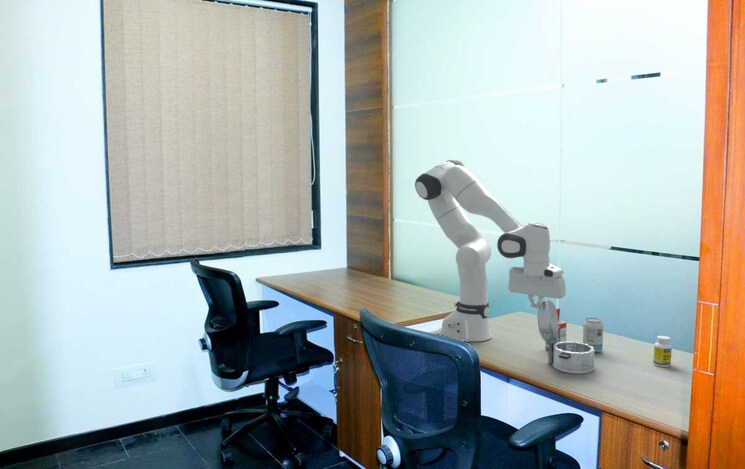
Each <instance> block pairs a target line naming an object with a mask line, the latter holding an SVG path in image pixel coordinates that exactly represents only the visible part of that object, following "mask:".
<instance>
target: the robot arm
mask: <svg viewBox="0 0 745 469" xmlns="http://www.w3.org/2000/svg"><path fill="white" fill-rule="evenodd" d="M414 188H415V191H416V193H417V195H418V196H419V198H421V199H423V200H424V201H427V203H428V206H429V209H430V212H431V213H432V215H433V217H434V218H435V220H436V221H437V223H438V225H439V226H440V229H441V230H442V231H443V233H444V235H445V236H446V238H447V239H448V240H449V241H451V242H452V244H454V245H455V246H456V248H457V249H458V250H457V252H456V254H455V262H456V265H457V272H458V277H459V278H458V279H459V301H457V302H456V303H454V304H453V307H454V308H455V307H456V308H455V310H453V311H452V312H451V313H449V314H448V315H447V316H445V317H444V318H443V320H442V325H441V328H438V329H437V330H436V335H437V334H439V335H438V336H440V335H443V336H442V337H444V336H447V337H451V338H455V339H459V340H462V341H465V342H464V343H466V342H483V341H484V342H485V341H487V340H488V341H489V340H490V339H492V333H491V329H490V322H489V316H490V315H489V313H490V303H489V299H488V298H489V282H488V278H487V271H486V270H487V269H486V265H487V264H486V263H488V262H489V260H490V259H491V256H492V247H491V245H490V244H489V243H488V242H487V240H485V238H484V237H483V235H482V234H481V233H480V231H478V229H477V228H476V227H475V226H474V225H473V224H472V223H471V221H470V220H469V217H468V216H467V215H466V212H467V213H469V214H472V215H476V216H482V217H483V218H484V217H485V218H487V219H489V220H491V221H492V222H493V223H495V225H496V226H497V227H498V228H499V229H500V230H501V231H502V232H503V234H501V235H500V236H499V238H498V239H497V244H496V246H497V250H498V252H499V254H500V255H501V256H502V257H503V258H506V259H516V258H522V259H523V267H521V266H512V267H511V268H510V269H509V272H508V274H509V275H508V276H509V279H508V287H507V288H508V291H509V292H510V293H516V294H522V295H527V298H528V300H529V302H530V307H531V308H534V309H535V308H536V309H539V307H540V305H541V303H542V302H543V301H544V300H545V298H550V299H551V298H552V299H557V300H558V299H559V300H561V299H562V298H564V297H566V292H567V291H566V290H567V288H566V279H565V278H564V277H563V275H564V269H562V268H560V267H557V266H555V265H553V264H551V259H550V250H551V249H550V248H551V238H550V229H549V228H548V226H547V225H545V224H543V223H539V222H533V221H532V222H527V223H525V224H524V225H523V224H521V223H520V222H519V221H518V220H516V218H515V217H513V215H512V214H511V213H510V212H509V211H508V210H507V209H506V208H504V206H503V205H501V203H499V202H498V201H497V200H496V198H495V197H493V196H492V194H491V193H490V192H489V191H488V190H487V189H486V187H485V186H484V185H483V184H482V183H481V182H480V181H479V179H477V177H476V176H475V175H474V174H473V173H472V172H470V170H468V169H467V168H466V167H465V165H464V164H463V162H462V161H461V160H459V159H449V160H446V161H444V162H443V163H440V164H437V165H435V166H433V167H432V168H431V169H429V170H427V171H425V172H423V173H422V174H420V175H419V176H418V177H417V178H416V179H415V181H414ZM464 210H465V211H466V212H465V211H464ZM535 296H536V297H537V299H538V301H536V300H535V299H534V297H535ZM447 337H446V338H447Z"/></svg>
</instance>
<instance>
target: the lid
mask: <svg viewBox="0 0 745 469" xmlns="http://www.w3.org/2000/svg"><path fill="white" fill-rule="evenodd" d="M556 309H557V308H556V306H555V304H554V302H553V301H552V300H549V299H544V300H543V301H542V302H541V305H540V307H539V308H538V313H537V326H538V331H539V335H540V336H541V338H542V340H543V341H544V342H549V345H552V344H553V343H555V342H556V340H555V338H556V336H557V333H558V314H557V310H556Z"/></svg>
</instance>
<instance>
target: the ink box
mask: <svg viewBox="0 0 745 469" xmlns="http://www.w3.org/2000/svg"><path fill="white" fill-rule="evenodd" d="M556 310H557V314H558V333H557V336H556V338H555V340H556V342H555V343H557V342H565V341H567V324H568V323H567V322H566V321H562V320H560V316H561V315H560V313H561V308H556ZM544 342H545V341H544ZM545 349H546V350H548V351H549V342H545Z"/></svg>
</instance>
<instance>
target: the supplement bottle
mask: <svg viewBox="0 0 745 469" xmlns="http://www.w3.org/2000/svg"><path fill="white" fill-rule="evenodd" d="M672 349H673V345H672V344H671V337H669V336H667V335H657V337H656V341H655V343H654V347H653V362H652V363H653V364H654V366H657V367H662V368H669V367H671V365H672V351H673V350H672Z"/></svg>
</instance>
